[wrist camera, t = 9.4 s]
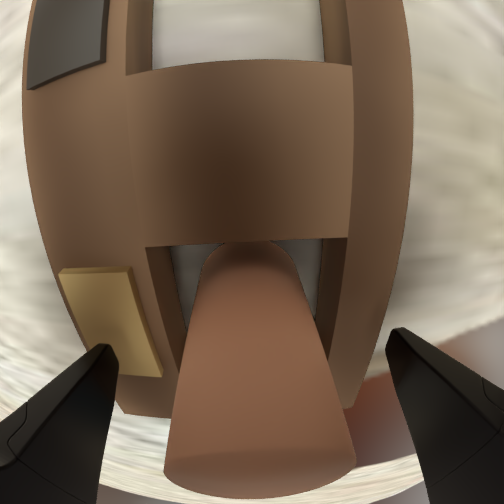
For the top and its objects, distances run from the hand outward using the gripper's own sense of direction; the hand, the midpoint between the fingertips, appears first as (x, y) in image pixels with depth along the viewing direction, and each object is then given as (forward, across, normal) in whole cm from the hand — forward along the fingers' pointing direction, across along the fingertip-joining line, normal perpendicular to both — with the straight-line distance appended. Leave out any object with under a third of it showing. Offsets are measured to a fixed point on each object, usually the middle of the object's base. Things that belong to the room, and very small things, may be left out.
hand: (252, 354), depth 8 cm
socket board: (+4, +1, -6) cm, 7 cm away
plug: (+4, 0, 0) cm, 4 cm away
